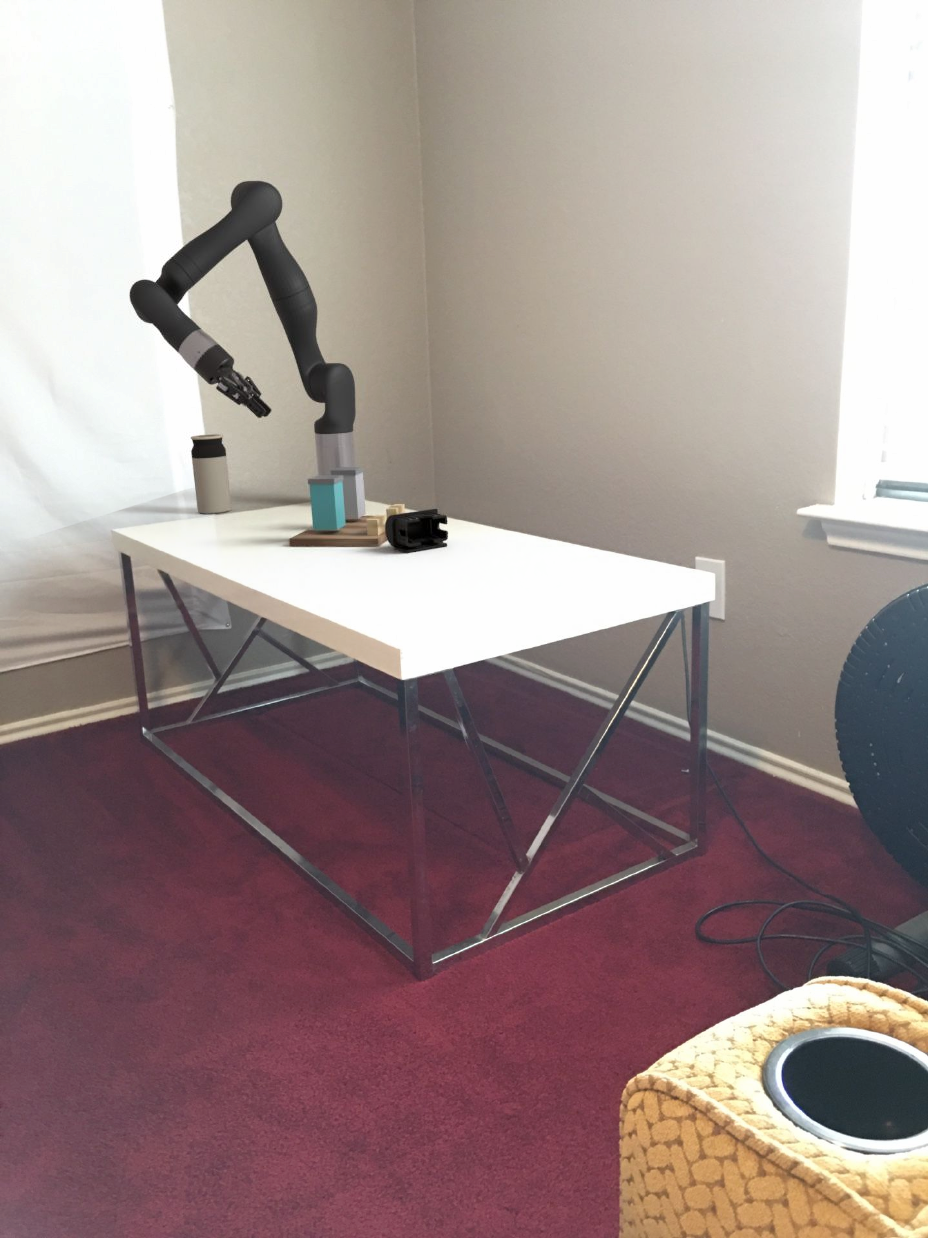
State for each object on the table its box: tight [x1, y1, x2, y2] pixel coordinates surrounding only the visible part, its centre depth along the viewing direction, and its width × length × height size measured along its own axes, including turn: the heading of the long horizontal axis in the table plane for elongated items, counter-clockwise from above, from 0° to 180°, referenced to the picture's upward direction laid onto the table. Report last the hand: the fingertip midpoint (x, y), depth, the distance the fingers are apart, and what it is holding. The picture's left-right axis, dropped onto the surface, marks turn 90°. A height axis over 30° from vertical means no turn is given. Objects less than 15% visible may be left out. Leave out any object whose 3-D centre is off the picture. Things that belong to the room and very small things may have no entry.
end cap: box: [385, 508, 449, 554], centre depth 194 cm, size 10×7×7 cm
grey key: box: [331, 466, 367, 518], centre depth 216 cm, size 5×5×10 cm
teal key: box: [307, 474, 346, 530], centre depth 204 cm, size 5×5×10 cm
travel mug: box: [190, 433, 233, 515], centre depth 246 cm, size 8×8×18 cm
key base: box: [288, 503, 406, 548], centre depth 211 cm, size 26×18×4 cm
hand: (265, 414), depth 218 cm, fingers open, 2 cm apart
